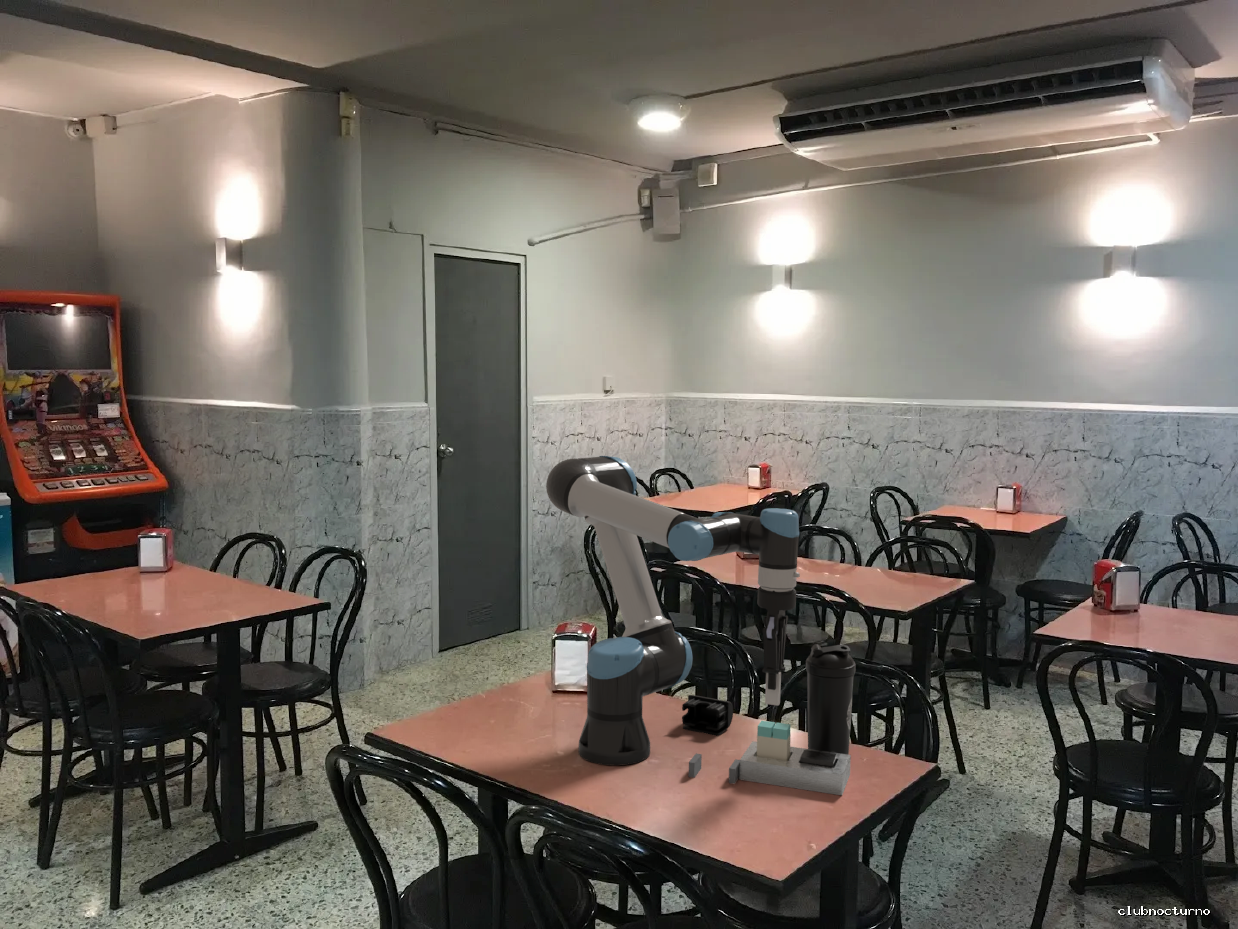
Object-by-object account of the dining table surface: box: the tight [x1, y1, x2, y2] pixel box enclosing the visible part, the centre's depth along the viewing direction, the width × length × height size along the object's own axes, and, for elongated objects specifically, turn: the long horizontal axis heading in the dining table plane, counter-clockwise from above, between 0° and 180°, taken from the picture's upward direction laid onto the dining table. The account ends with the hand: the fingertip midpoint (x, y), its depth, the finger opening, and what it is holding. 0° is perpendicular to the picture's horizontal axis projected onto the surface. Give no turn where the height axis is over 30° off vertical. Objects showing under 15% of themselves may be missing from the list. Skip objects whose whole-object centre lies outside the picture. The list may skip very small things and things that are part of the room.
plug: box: [756, 720, 791, 761], centre depth 197 cm, size 6×4×10 cm, turn 69°
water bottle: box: [805, 643, 857, 755], centre depth 208 cm, size 10×10×23 cm
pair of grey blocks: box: [688, 752, 740, 785], centre depth 196 cm, size 9×5×3 cm, turn 69°
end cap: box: [681, 694, 734, 737], centre depth 223 cm, size 10×7×7 cm
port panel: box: [738, 740, 852, 796], centre depth 196 cm, size 20×11×5 cm, turn 69°
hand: (772, 703), depth 197 cm, fingers closed
